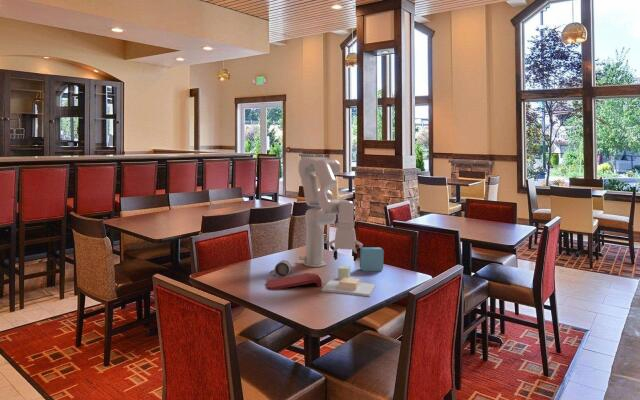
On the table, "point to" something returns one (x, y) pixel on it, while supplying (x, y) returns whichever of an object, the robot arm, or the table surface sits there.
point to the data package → (371, 259)
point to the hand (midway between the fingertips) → (345, 260)
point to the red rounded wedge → (294, 281)
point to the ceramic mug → (282, 269)
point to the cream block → (343, 272)
